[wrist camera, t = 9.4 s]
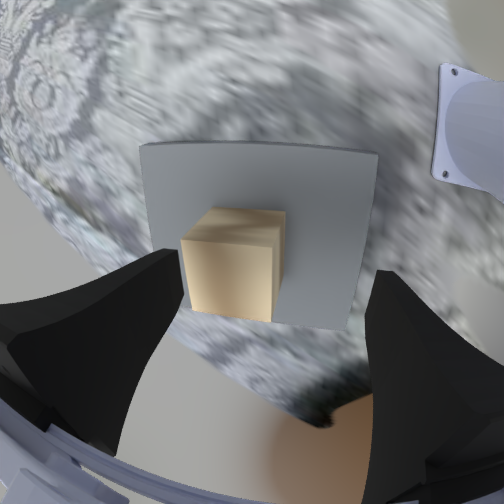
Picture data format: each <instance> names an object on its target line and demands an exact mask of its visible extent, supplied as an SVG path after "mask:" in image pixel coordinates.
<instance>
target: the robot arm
mask: <svg viewBox="0 0 504 504" xmlns="http://www.w3.org/2000/svg"><path fill="white" fill-rule="evenodd" d="M452 69H454V70H455V72H456V75H455V76H454V75H453V74H452V72H451V70H452ZM444 171H447V175H446V176H445V177H443V175H442V174H443V172H444ZM431 174H432V176H433V177H434V178H435V179H437V180H440V181H444V182H449V183H453V184H458V185H462V186H466V187H470V188H474V189H478V190H482V191H486V192H488V193H490V194H491V195H492V196H494V197H495V198H496V199H498V200H499V201H500V202H502V203H503V204H504V81H495V80H492V79H490V78H487V77H485V76H483V75H480V74H478V73H475V72H472V71H470V70H467V69H464V68H461V67H459V66H456V65H453V64H450V63H443V64H441V65H440V68H439V104H438V119H437V130H436V140H435V148H434V156H433V163H432V169H431ZM183 296H184V288H183V282H182V275H181V268H180V261H179V254H178V250H176V249H167V248H163V249H160V250H157V251H155V252H152V253H150V254H148V255H146V256H144V257H142V258H140V259H138V260H136V261H134V262H132V263H130V264H128V265H126V266H124V267H122V268H120V269H117V270H115V271H113V272H111V273H109V274H107V275H104V276H102V277H100V278H98V279H96V280H94V281H91V282H89V283H86V284H84V285H81V286H79V287H76V288H73V289H70V290H67V291H64V292H60V293H57V294H53V295H50V296H47V297H43V298H39V299H34V300H29V301H23V302H17V303H9V304H0V481H1V482H2V484H3V485H4V486H5V487H6V488H7V491H6V493H5V495H4V496H3V498H2V500H1V502H0V504H129V499H128V498H126V497H125V496H123V495H121V494H119V493H117V492H116V491H114V490H112V489H111V488H109V487H108V486H106V485H105V484H104V483H102V482H101V481H99V480H98V479H97V478H95V477H93V476H92V475H90V474H88V473H86V472H85V471H83V470H82V468H81V466H80V465H82V466H84V467H86V468H88V469H89V470H91V471H93V472H95V473H97V474H98V475H100V476H103V477H104V478H106V479H108V480H110V481H112V482H114V483H117V484H118V485H121V486H123V487H125V488H127V489H129V490H132V491H134V492H136V493H139V494H141V495H143V496H146V497H149V498H151V499H154V500H156V501H159V502H162V503H165V504H274V503H266V502H259V501H253V500H247V499H242V498H236V497H232V496H227V495H222V494H217V493H213V492H210V491H206V490H202V489H198V488H195V487H191V486H188V485H184V484H181V483H178V482H175V481H171V480H169V479H166V478H163V477H160V476H157V475H154V474H152V473H149V472H147V471H144V470H142V469H139V468H136V467H134V466H132V465H129V464H127V463H125V462H123V461H120V460H118V459H116V458H114V456H116V453H117V448H118V444H119V440H120V436H121V432H122V428H123V425H124V421H125V418H126V415H127V412H128V409H129V406H130V403H131V401H132V397H133V395H134V392H135V390H136V387H137V385H138V382H139V380H140V378H141V375H142V373H143V371H144V369H145V366H146V364H147V362H148V361H149V359H150V357H151V355H152V354H153V352H154V350H155V349H156V347H157V345H158V344H159V342H160V340H161V339H162V337H163V335H164V334H165V332H166V331H167V329H168V327H169V326H170V324H171V322H172V321H173V319H174V317H175V315H176V313H177V311H178V309H179V306H180V304H181V301H182V299H183ZM365 339H366V346H367V353H368V360H369V367H370V374H371V382H372V390H373V430H372V444H371V453H370V461H369V468H368V475H367V480H366V485H365V490H364V495H363V499H362V503H361V504H504V366H503V365H501V364H499V363H497V362H496V361H494V360H493V359H491V358H490V357H488V356H487V355H485V354H484V353H482V352H481V351H480V350H478V349H477V348H475V347H474V346H472V345H471V344H470V343H469V342H467V341H466V340H465V339H464V338H462V337H461V336H460V335H459V334H457V333H456V332H455V331H454V330H453V329H451V328H450V327H449V326H448V325H447V324H446V323H445V322H444V321H443V320H442V319H441V318H439V317H438V316H437V315H436V314H435V313H434V312H433V311H432V310H431V309H430V308H429V307H428V306H427V305H426V304H425V303H424V302H423V301H422V300H421V299H420V298H419V297H418V296H417V295H416V293H415V292H414V291H413V290H412V289H411V288H410V287H409V286H408V285H407V284H406V283H405V282H404V281H403V280H402V279H401V278H400V277H399V276H398V275H397V274H396V273H394V272H393V271H384V270H377V272H376V276H375V280H374V284H373V288H372V291H371V295H370V299H369V302H368V306H367V309H366V313H365Z"/></svg>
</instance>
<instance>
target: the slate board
mask: <svg viewBox="0 0 504 504" xmlns="http://www.w3.org/2000/svg"><path fill="white" fill-rule="evenodd" d="M139 152H140V162H141V171H142V180H143V187H144V195H145V202H146V209H147V216H148V222H149V228H150V234H151V240H152V246H153V251H154V252H155V251H157V250H160V249H163V248H167V249H176V250H178V254H179V261H180V268H181V275H182V282H183V288H184V296H183V299H182V301H181V304H180V306H182V307H187V308H192V305H191V300H190V294H189V289H188V283H187V278H186V272H185V266H184V260H183V253H182V247H181V241H180V239H181V238H182V237H183V236H184V235H185V234H186V233H187V232H188V231H189V230H190V229H191V228H192V227H193V226H194V225H195V224H196V223H197V222H198V221H199V220H200V219H201V218H202V217H203V216H204V215H205V214H206V213H207V212H208V211H209V210H210V209H211V208H212V207H226V208H244V209H260V210H274V211H286V213H285V248H284V275H283V280H282V284H281V287H280V291H279V295H278V299H277V302H276V306H275V310H274V313H273V317H272V321H271V322H274V323H281V324H288V325H296V326H304V327H312V328H320V329H329V330H338V331H345V328H346V325H347V321H348V317H349V313H350V310H351V306H352V302H353V298H354V294H355V290H356V286H357V281H358V277H359V272H360V268H361V263H362V259H363V254H364V249H365V244H366V239H367V233H368V228H369V222H370V216H371V210H372V204H373V197H374V190H375V183H376V175H377V167H378V158H379V155H378V154H377V153H376V152H370V151H363V150H356V149H348V148H339V147H330V146H320V145H309V144H296V143H280V142H258V141H185V142H163V143H148V144H145V145H142V146H139Z"/></svg>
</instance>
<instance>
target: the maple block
mask: <svg viewBox="0 0 504 504" xmlns="http://www.w3.org/2000/svg"><path fill="white" fill-rule="evenodd" d="M285 213H286V211H274V210H260V209H244V208H226V207H212V208H211V209H210V210H209V211H208V212H207V213H206V214H205V215H204V216H203V217H202V218H201V219H200V220H199V221H198V222H197V223H196V224H195V225H194V226H193V227H192V228H191V229H190V230H189V231H188V232H187V233H186V234H185V235H184V236H183V237H182V238H181V239H180V241H181V247H182V253H183V260H184V266H185V272H186V278H187V283H188V289H189V294H190V300H191V305H192V310H193V311H199V312H204V313H210V314H216V315H223V316H229V317H235V318H242V319H249V320H256V321H263V322H270V323H271V321H272V317H273V313H274V310H275V306H276V302H277V299H278V295H279V291H280V287H281V284H282V280H283V275H284V248H285Z"/></svg>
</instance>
